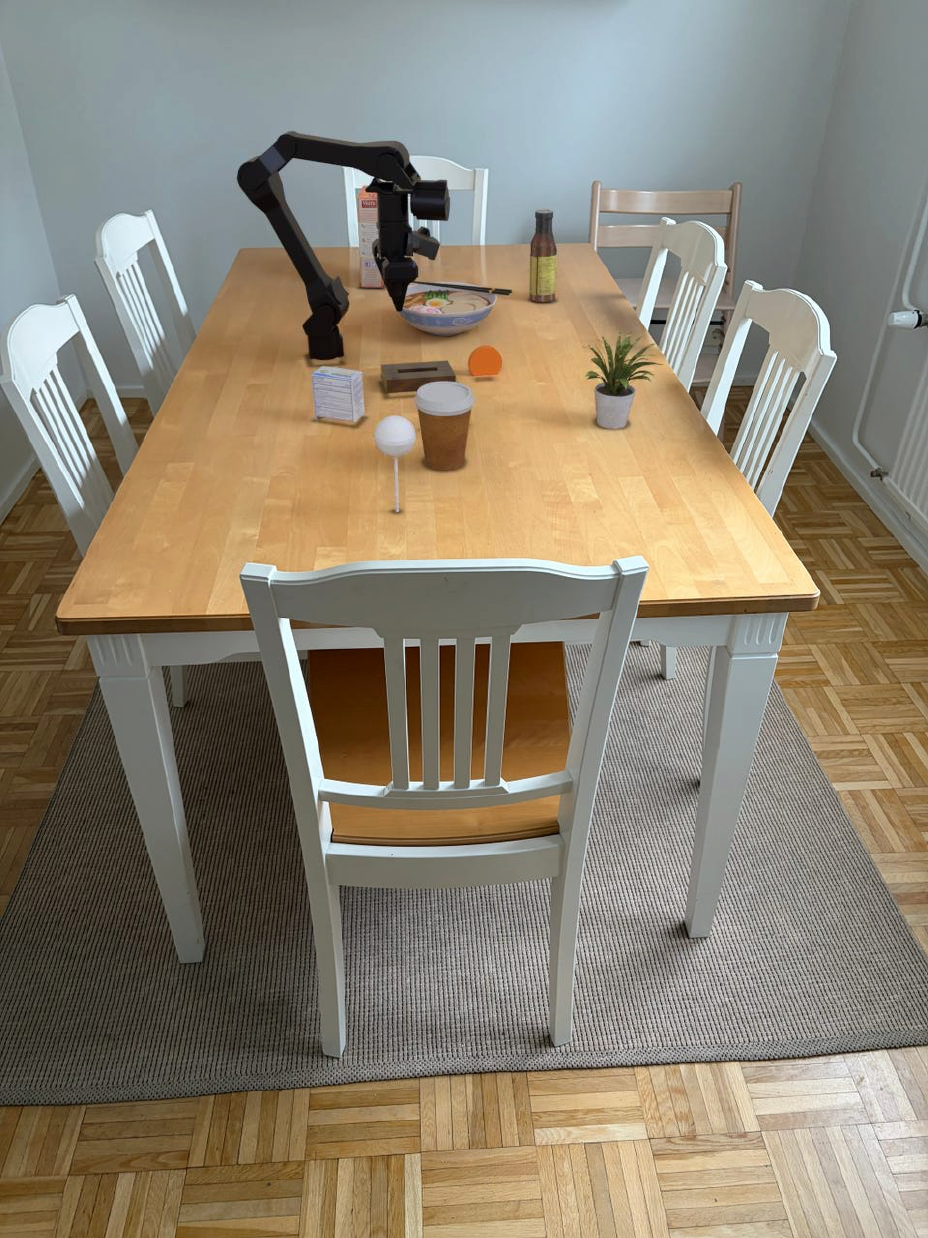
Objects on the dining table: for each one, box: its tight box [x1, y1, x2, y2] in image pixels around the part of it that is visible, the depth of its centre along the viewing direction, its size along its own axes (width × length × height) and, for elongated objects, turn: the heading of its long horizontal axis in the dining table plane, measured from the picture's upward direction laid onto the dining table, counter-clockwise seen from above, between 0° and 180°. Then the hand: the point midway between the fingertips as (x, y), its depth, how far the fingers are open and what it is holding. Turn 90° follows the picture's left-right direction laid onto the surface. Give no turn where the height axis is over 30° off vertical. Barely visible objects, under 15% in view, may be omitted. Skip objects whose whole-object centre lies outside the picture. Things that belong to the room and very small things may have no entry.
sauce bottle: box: [528, 208, 558, 304], centre depth 221 cm, size 7×6×20 cm
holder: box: [380, 360, 457, 394], centre depth 180 cm, size 13×8×4 cm, turn 102°
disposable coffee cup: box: [413, 381, 476, 471], centre depth 152 cm, size 10×10×12 cm
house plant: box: [583, 329, 664, 430], centre depth 163 cm, size 14×14×16 cm
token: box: [467, 345, 503, 377], centre depth 183 cm, size 6×1×6 cm, turn 102°
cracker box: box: [356, 185, 385, 289], centre depth 231 cm, size 14×6×21 cm, turn 179°
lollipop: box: [373, 414, 417, 513], centre depth 137 cm, size 6×6×15 cm
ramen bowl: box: [398, 280, 513, 337], centre depth 205 cm, size 25×23×8 cm
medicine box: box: [310, 365, 366, 423], centre depth 166 cm, size 8×4×9 cm, turn 71°
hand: (395, 303), depth 184 cm, fingers open, 9 cm apart
